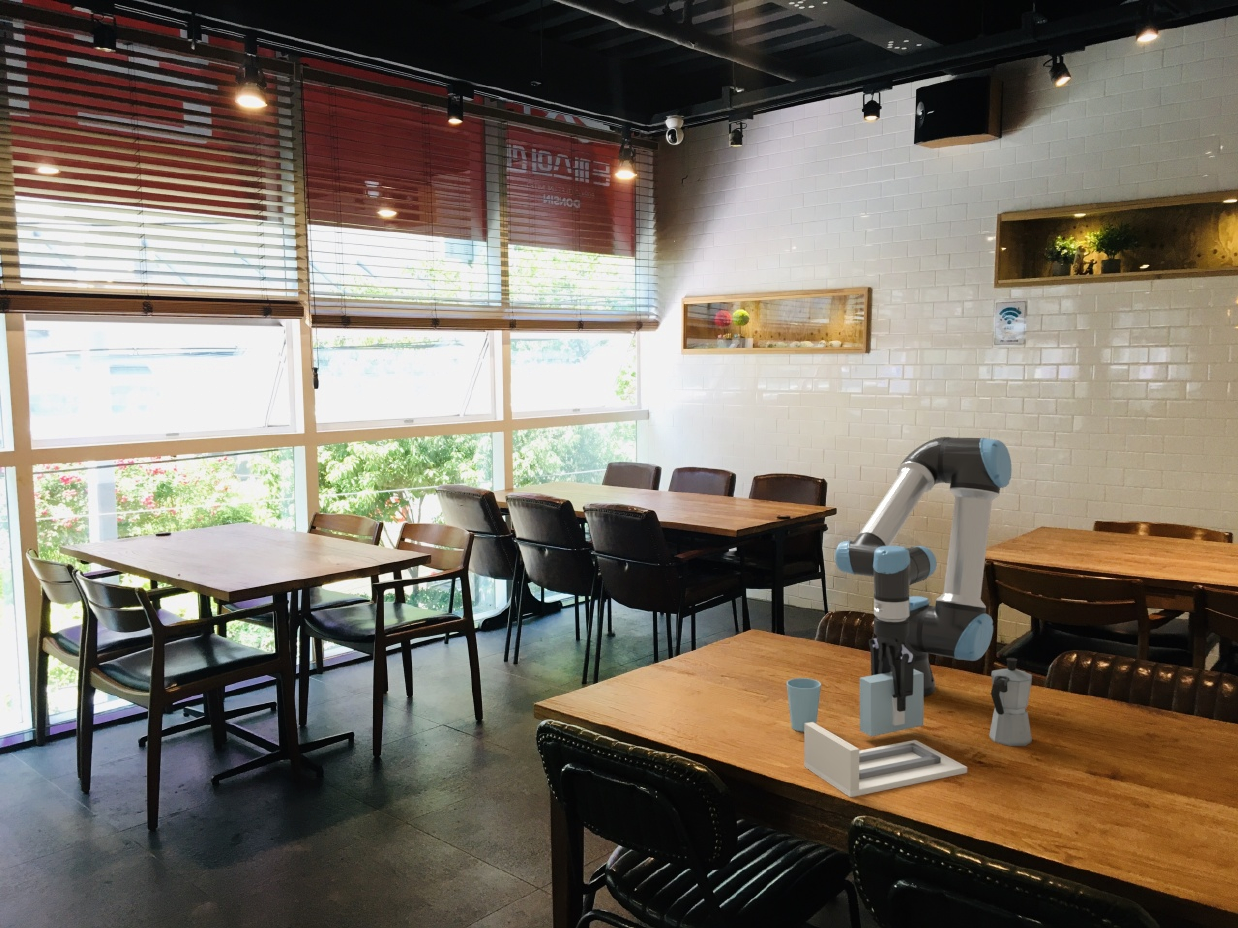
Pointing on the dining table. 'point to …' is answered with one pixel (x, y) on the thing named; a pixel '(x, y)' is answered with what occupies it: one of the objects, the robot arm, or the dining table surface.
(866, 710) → the light blue block
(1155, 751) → the dining table surface
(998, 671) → the coffee maker
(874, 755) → the track
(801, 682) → the cup
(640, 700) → the dining table surface
